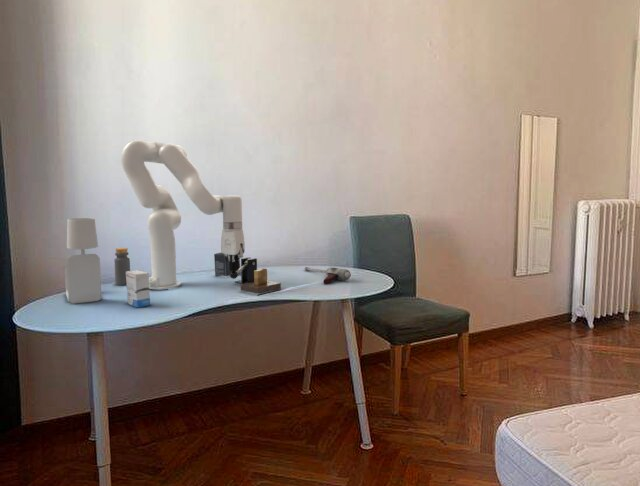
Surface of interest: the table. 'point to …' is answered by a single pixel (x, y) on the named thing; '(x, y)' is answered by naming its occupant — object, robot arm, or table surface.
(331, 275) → the grey pistol
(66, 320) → the table surface
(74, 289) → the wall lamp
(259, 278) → the thumbturn
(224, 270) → the box
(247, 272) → the handle bracket
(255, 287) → the lock plate
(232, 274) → the door lever
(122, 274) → the bottle
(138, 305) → the ink box
